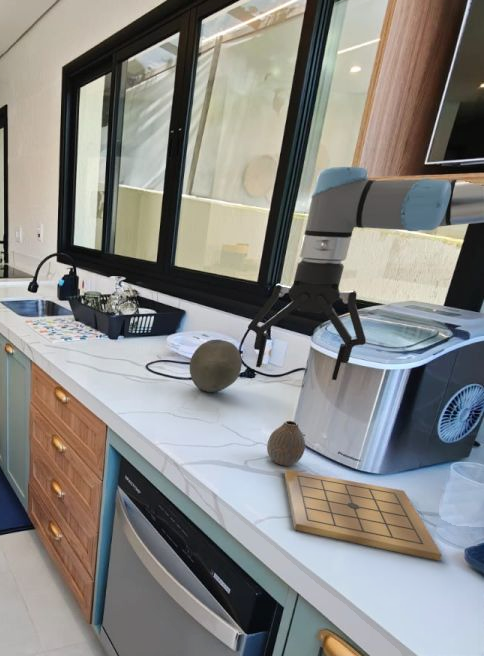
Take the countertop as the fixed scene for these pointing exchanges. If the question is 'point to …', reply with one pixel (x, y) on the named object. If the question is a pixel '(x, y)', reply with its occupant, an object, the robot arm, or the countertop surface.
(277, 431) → the vase
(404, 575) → the countertop surface
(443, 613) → the countertop surface
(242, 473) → the countertop surface
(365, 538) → the board
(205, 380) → the cantaloupe
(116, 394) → the countertop surface
